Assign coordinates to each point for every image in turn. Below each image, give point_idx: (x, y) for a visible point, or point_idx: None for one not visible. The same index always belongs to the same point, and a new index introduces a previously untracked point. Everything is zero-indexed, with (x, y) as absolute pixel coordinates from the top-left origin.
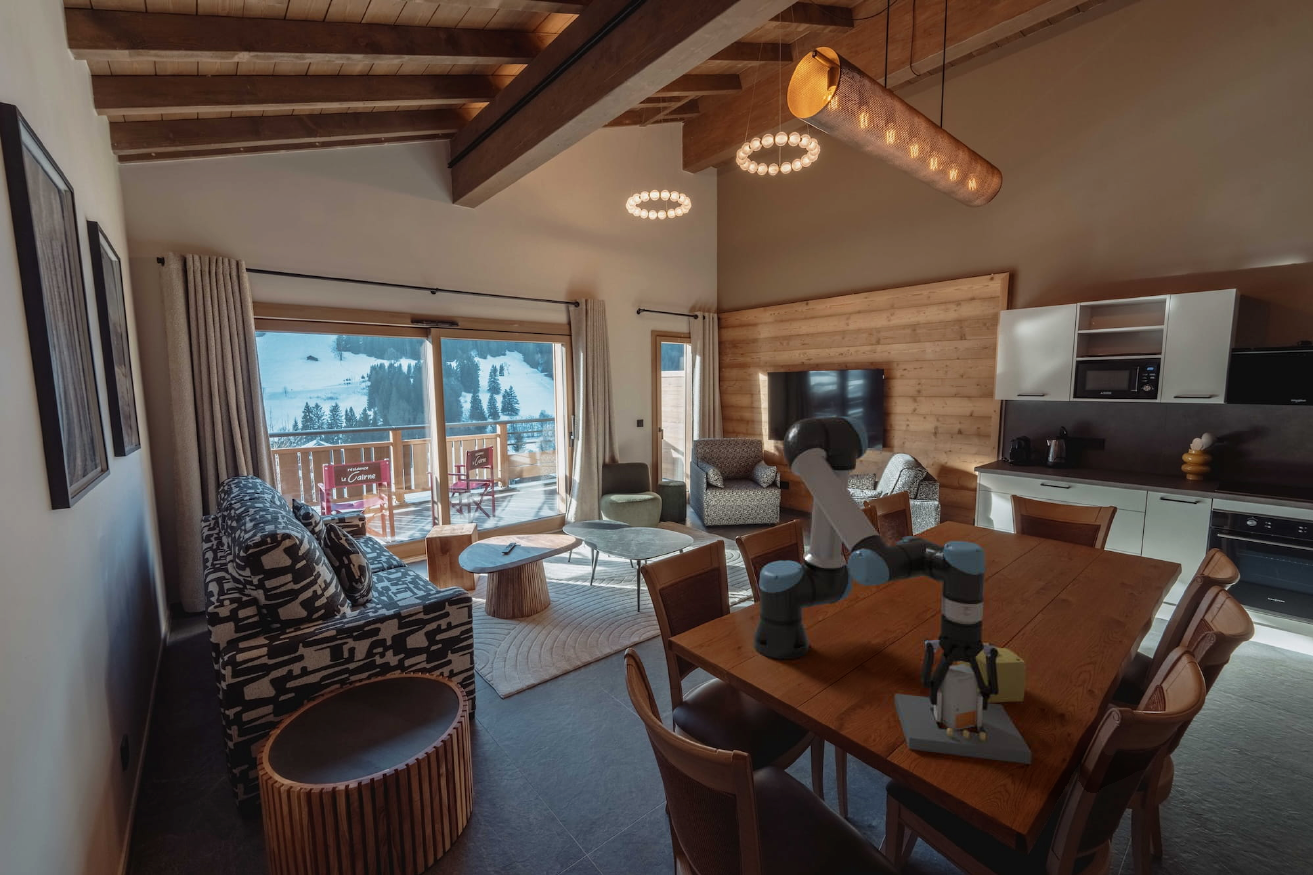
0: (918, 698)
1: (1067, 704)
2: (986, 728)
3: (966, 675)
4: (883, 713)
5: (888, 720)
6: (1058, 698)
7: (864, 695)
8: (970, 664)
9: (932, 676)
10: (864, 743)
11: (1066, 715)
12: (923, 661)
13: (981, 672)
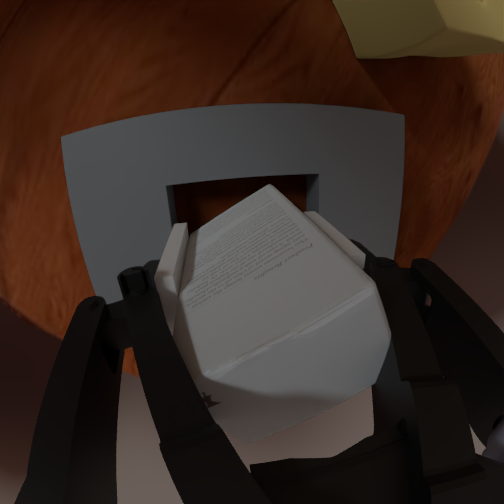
0: (132, 133)
1: (489, 77)
2: None
3: (319, 413)
4: (54, 201)
5: (67, 231)
6: (483, 57)
7: (15, 129)
8: (384, 418)
9: (127, 322)
10: (50, 327)
11: (483, 112)
12: (46, 388)
13: (407, 20)
